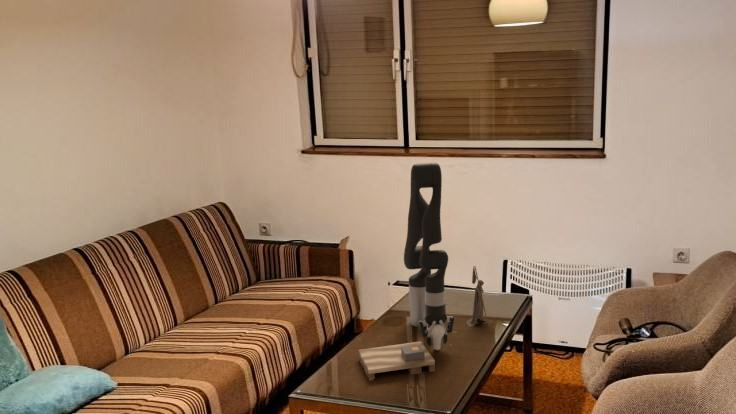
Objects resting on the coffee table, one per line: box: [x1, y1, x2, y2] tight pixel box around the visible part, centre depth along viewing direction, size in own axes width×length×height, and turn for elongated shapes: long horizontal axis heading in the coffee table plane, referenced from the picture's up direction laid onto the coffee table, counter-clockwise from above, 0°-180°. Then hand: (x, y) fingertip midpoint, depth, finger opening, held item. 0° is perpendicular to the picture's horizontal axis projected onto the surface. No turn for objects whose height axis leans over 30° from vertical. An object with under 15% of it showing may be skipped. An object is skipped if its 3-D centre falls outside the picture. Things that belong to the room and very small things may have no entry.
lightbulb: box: [429, 324, 445, 351], centre depth 270 cm, size 6×6×11 cm
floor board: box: [358, 340, 436, 381], centre depth 260 cm, size 18×24×4 cm
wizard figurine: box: [466, 265, 489, 327], centre depth 293 cm, size 10×8×25 cm
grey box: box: [401, 345, 425, 362], centre depth 256 cm, size 6×7×3 cm
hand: (436, 344), depth 271 cm, fingers closed on lightbulb, 5 cm apart
